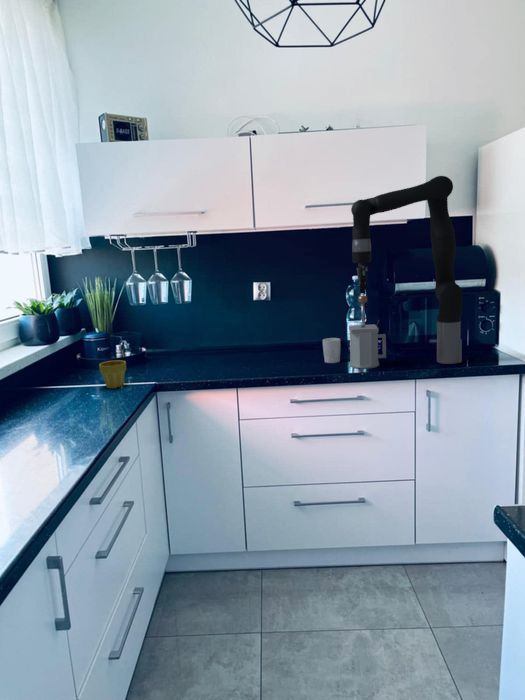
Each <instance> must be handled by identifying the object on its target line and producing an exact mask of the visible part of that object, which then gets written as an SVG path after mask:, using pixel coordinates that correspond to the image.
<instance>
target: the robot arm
mask: <svg viewBox="0 0 525 700" xmlns="http://www.w3.org/2000/svg"><path fill="white" fill-rule="evenodd" d="M453 191H454V184H453V181H452V179H451V178H449V177H448V176H444V175H438V176H435V177H433V178H431V179H429V180H428V181H426V182H424V183H420V184H417V185H414V186H411V187H407V188H402V189H398V190H394V191H389V192H385V193H382V194H378V195H376V196H374V197H369V198H365V199H358V200H357V201H355V202H354V203H353V204H352V205H351V210H350V212H351V214H352V220H353V222H352V223H353V224H352V225H353V226H352V242H351V243H352V245H351V247H352V248H351V249H352V250H351V251H352V252H351V253H352V257H351V258H352V263H354V264H358V265H357V267H356V271H357V278H358V279H357V281H358V284H359V294H366V284H367V278H368V266H366V265H367V264H366V263H371V261H372V243H371V242H372V241H371V230H370V228H371V227H370V225H371V224H370V223H371V222H370V221H371V216H373V215H375V214H381V213H386V212H390V211H393V210H397V209H400V208H404V207H407V206H409V205H413V204H415V203H419V202H426V201H427V206H428V211H429V225H430V226H429V228H430V229H429V230H430V240H431V241H430V242H431V243H430V244H431V252H432V257H433V264H434V269H435V270H434V271H435V297H436V299H437V301H438V302H439V303H438V313H437V317H436V362H437V363H439V364H442V365H445V364H446V365H453V364H460V363H461V364H462V363H463V362H462V358H463V357H462V356H463V354H462V352H463V349H462V348H463V340H462V339H461V326H462V325H461V323H462V322H461V317H462V315H463V303H464V302H463V301H464V300H463V297H464V295H463V290H462V288H461V286H460V285H459V284H457V283H456V279H455V271H454V268H455V267H454V266H455V260H456V251H457V244H456V243H457V242H456V233H455V230H454V225H453V223H452V219H451V217H450V214H449V209H448V208H449V206H448V204H449V202H448V200H449V199H448V198H449V196H450V195H451V194H452V193H453Z"/></svg>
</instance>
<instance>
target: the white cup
mask: <svg viewBox="0 0 525 700" xmlns="http://www.w3.org/2000/svg"><path fill="white" fill-rule="evenodd" d="M322 350H323V358H324V363H325V364H336V363H340V361H341V358H340V357H341V338H338V337H329V338H328V337H326V338H323V339H322Z"/></svg>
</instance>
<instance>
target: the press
mask: <svg viewBox="0 0 525 700" xmlns="http://www.w3.org/2000/svg"><path fill="white" fill-rule="evenodd" d="M379 329H380V328H379V327H378V326H377V325H376V324H365V327H364V328H362V324H358V325H355V324H354V325H348V330H349V352H350V353H349V354H350V355H349V357H350V358H349V360H350V362H349V363H348V364H349V367H350V368H352V367H353V369H357V368H360V370H361V369H362V370H363V369H364V370H365V369H366V370H367V369H374V368H377V367H380V362H379V359H387V340H386V339H387V336H386V333H382V334H381V333H380V334H379V331H380V330H379ZM379 338H380V339H381V338H382V354H379V341H378V339H379Z"/></svg>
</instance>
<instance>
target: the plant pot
mask: <svg viewBox="0 0 525 700" xmlns="http://www.w3.org/2000/svg"><path fill="white" fill-rule="evenodd" d="M98 366H99V367H98V369H99V373H100V374H102V378H103V380H104V383H105V386H106V388H107V389H118V388H117V387H119V388H121V387H120V386H122V385H123V386H124V383H125V374H126V371H127V362H126V360H120V359H119V360H118V359H116V360H108V361H104V362H100V363H99V365H98ZM123 386H122V387H123Z"/></svg>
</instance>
